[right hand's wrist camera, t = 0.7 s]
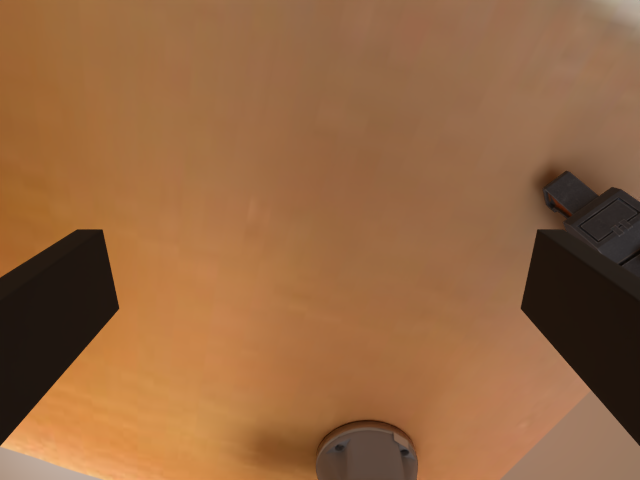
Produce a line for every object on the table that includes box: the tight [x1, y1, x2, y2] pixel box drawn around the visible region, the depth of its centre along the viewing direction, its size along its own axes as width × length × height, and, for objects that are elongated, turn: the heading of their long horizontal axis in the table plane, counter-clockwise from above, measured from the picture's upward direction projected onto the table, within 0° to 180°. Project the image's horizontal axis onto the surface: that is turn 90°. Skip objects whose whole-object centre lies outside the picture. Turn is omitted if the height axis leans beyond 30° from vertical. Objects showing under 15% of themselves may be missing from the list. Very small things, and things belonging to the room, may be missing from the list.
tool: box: [543, 171, 640, 278], centre depth 44 cm, size 6×19×15 cm, turn 43°
